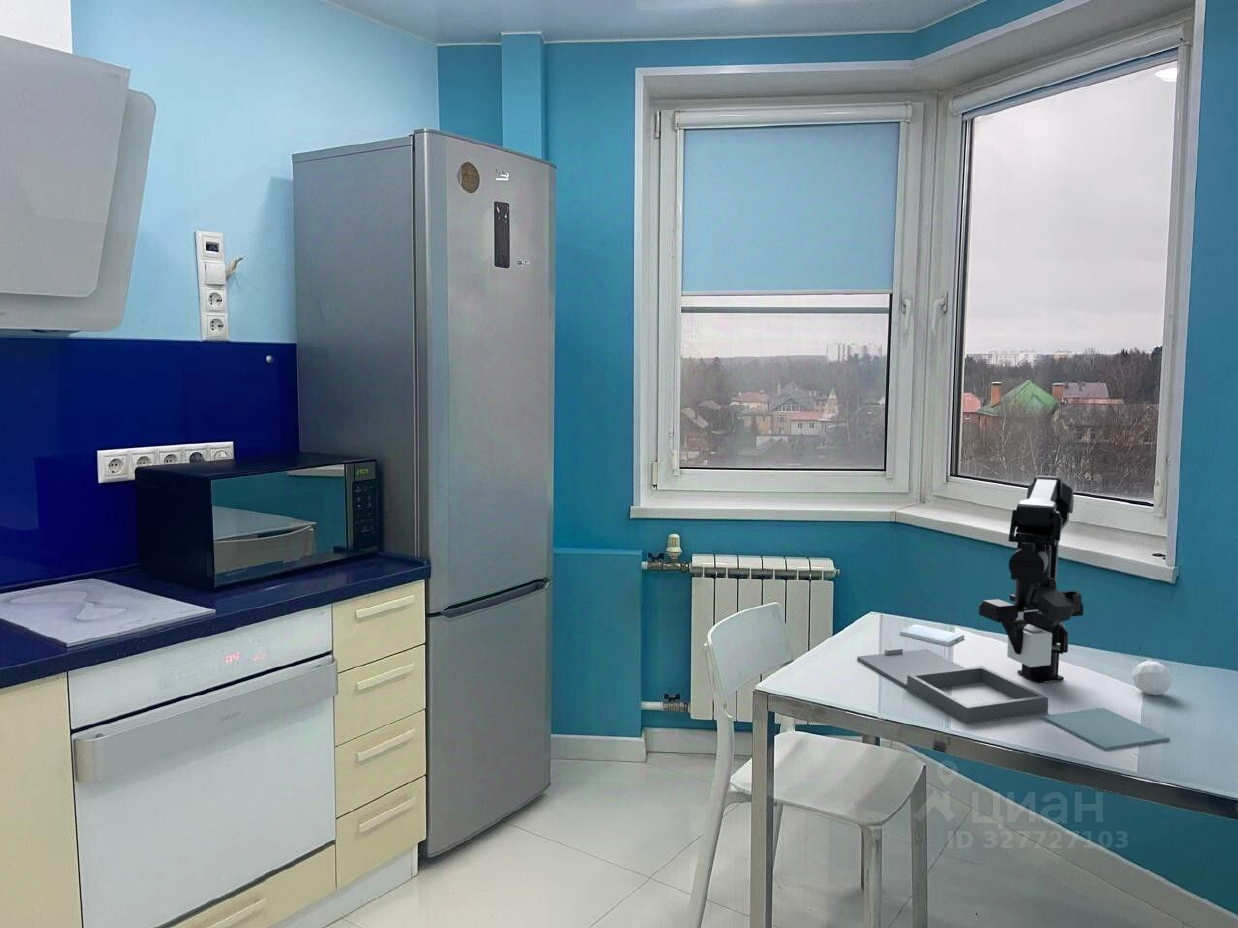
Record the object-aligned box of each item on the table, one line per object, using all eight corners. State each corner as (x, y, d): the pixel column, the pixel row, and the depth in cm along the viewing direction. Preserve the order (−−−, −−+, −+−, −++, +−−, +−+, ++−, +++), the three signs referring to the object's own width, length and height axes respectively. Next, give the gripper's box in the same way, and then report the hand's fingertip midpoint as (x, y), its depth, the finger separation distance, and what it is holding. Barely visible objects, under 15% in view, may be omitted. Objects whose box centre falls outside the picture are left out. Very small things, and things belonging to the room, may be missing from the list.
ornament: (1126, 693, 169) (1122, 657, 173) (1152, 702, 171) (1147, 666, 175) (1155, 687, 164) (1150, 650, 168) (1182, 696, 166) (1176, 659, 169)
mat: (1103, 709, 161) (1103, 707, 161) (1169, 740, 148) (1169, 737, 148) (1042, 718, 157) (1042, 715, 157) (1104, 750, 144) (1104, 747, 144)
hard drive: (899, 630, 208) (948, 641, 199) (915, 623, 214) (964, 633, 205) (899, 637, 208) (948, 648, 199) (915, 629, 214) (964, 640, 205)
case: (926, 652, 195) (926, 639, 194) (1047, 712, 160) (1048, 697, 160) (857, 659, 190) (857, 646, 189) (966, 723, 155) (967, 707, 155)
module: (1027, 654, 163) (1028, 622, 162) (1050, 664, 157) (1052, 631, 156) (1007, 656, 162) (1008, 623, 161) (1029, 667, 156) (1031, 633, 155)
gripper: (1021, 584, 147) (1016, 671, 149) (1109, 577, 152) (1104, 662, 154) (978, 570, 158) (975, 651, 160) (1062, 564, 163) (1058, 643, 164)
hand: (1029, 652), depth 159 cm, fingers closed on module, 4 cm apart
